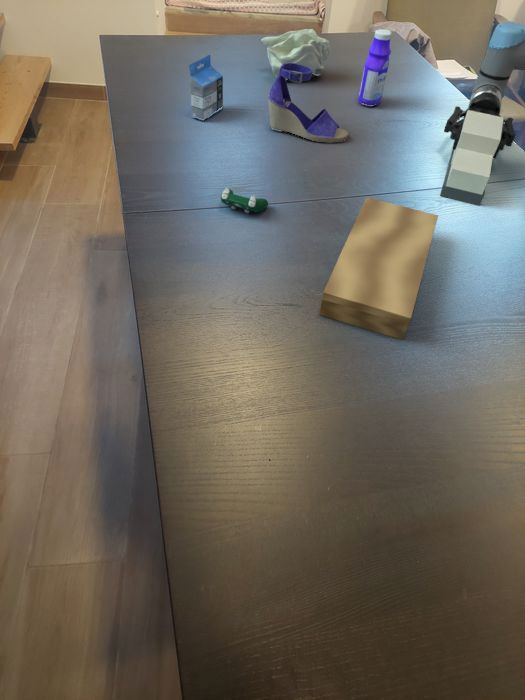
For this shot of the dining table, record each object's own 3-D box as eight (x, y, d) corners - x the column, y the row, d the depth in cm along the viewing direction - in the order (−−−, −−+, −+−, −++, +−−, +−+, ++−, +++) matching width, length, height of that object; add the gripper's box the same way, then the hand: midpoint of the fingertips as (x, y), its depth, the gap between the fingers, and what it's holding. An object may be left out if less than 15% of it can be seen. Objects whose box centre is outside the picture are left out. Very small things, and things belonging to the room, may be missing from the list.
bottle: (372, 110, 137) (388, 38, 123) (353, 104, 138) (367, 32, 125) (383, 101, 141) (400, 30, 128) (365, 95, 143) (379, 25, 130)
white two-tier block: (487, 159, 122) (504, 117, 115) (479, 205, 108) (498, 161, 101) (452, 151, 124) (466, 109, 117) (439, 195, 110) (455, 152, 103)
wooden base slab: (430, 236, 100) (438, 215, 96) (402, 340, 81) (411, 318, 77) (361, 218, 103) (366, 196, 99) (318, 314, 84) (323, 292, 80)
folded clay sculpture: (277, 104, 151) (258, 57, 138) (278, 75, 157) (259, 28, 144) (337, 85, 145) (322, 34, 132) (335, 56, 150) (321, 4, 138)
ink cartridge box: (204, 122, 126) (202, 69, 117) (191, 118, 127) (188, 65, 118) (223, 109, 132) (223, 57, 122) (210, 105, 133) (209, 54, 123)
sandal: (342, 149, 121) (354, 83, 110) (263, 132, 125) (267, 66, 114) (349, 134, 127) (361, 70, 115) (273, 118, 130) (278, 54, 119)
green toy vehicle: (223, 208, 105) (214, 200, 100) (228, 190, 105) (219, 181, 99) (264, 219, 104) (257, 213, 98) (270, 201, 103) (263, 193, 97)
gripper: (520, 132, 127) (517, 175, 113) (437, 114, 131) (423, 153, 117) (534, 101, 121) (532, 142, 107) (447, 83, 125) (433, 120, 111)
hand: (475, 148), depth 112 cm, fingers closed on white two-tier block, 8 cm apart
